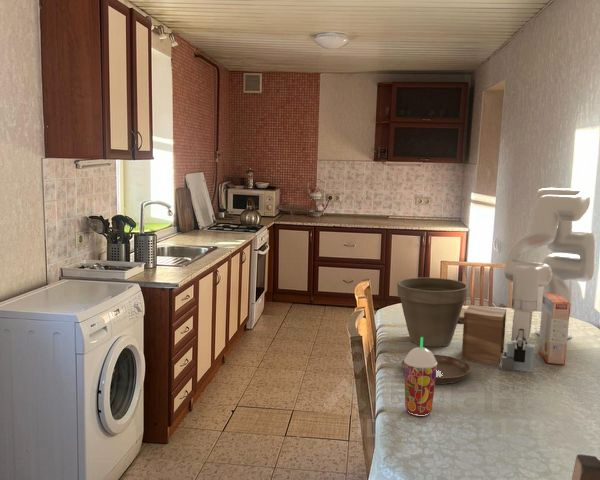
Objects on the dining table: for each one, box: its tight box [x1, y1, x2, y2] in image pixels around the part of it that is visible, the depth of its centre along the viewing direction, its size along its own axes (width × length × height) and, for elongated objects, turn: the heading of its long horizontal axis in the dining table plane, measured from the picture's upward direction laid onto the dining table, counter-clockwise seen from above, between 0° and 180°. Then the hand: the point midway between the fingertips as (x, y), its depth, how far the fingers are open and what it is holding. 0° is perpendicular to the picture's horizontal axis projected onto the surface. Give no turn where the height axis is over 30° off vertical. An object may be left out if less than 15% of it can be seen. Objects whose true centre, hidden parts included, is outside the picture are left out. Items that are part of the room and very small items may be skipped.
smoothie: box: [403, 337, 438, 415], centre depth 144 cm, size 8×8×20 cm
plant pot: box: [396, 277, 469, 348], centre depth 205 cm, size 25×25×22 cm
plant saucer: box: [400, 354, 471, 385], centre depth 173 cm, size 21×21×3 cm
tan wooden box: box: [461, 304, 507, 366], centre depth 189 cm, size 12×12×16 cm
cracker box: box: [537, 293, 571, 365], centre depth 189 cm, size 14×6×21 cm, turn 168°
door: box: [506, 341, 536, 373], centre depth 179 cm, size 3×8×8 cm, turn 65°
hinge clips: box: [498, 350, 515, 372], centre depth 181 cm, size 8×4×4 cm, turn 155°
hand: (520, 357), depth 179 cm, fingers open, 9 cm apart
